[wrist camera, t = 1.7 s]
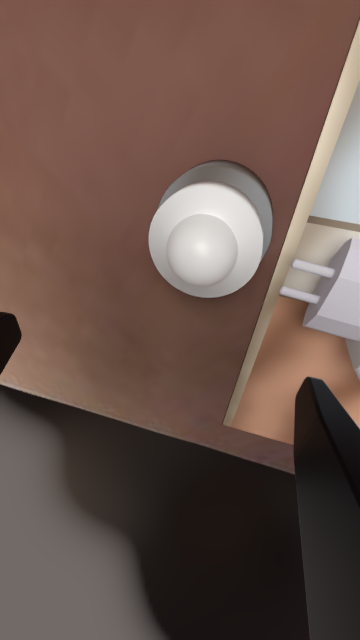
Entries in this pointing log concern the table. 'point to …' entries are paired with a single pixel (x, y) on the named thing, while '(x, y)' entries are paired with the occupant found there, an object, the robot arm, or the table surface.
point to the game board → (299, 271)
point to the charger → (334, 297)
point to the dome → (207, 239)
